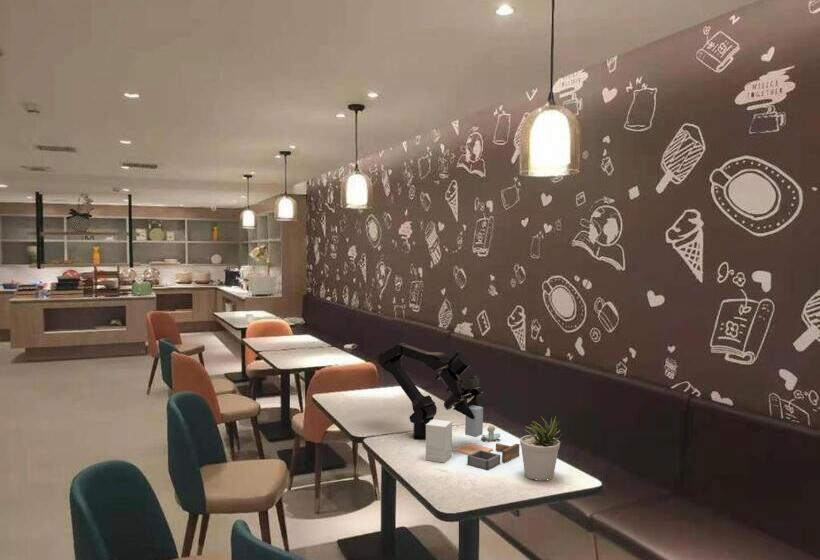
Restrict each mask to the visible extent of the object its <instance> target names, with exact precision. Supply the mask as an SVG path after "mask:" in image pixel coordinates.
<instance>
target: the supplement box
mask: <svg viewBox="0 0 820 560" xmlns="http://www.w3.org/2000/svg"><path fill="white" fill-rule="evenodd" d="M452 438H453V422H452V421H450V420H441V419H434V418H433V420H430V422H429V423H427V424H426V439H425V460H426V461H430V462H431V461H432V462H438V463H442V464H443V463H444V464H446V462H448V461H449V460H450V459H451V458H452V457H453V442H452V441H453V439H452Z"/></svg>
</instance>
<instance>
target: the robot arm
mask: <svg viewBox="0 0 820 560" xmlns="http://www.w3.org/2000/svg"><path fill="white" fill-rule="evenodd" d="M404 356H405V357H407V358H409V359H413V360H415V361H418V362H422V364H424V365H425V366H426V367H427V368H429V369H430V370H431V371H432V370H433V371H436V373H435V377H434V378H435V380H436V381H438V380H441V381H442V382H443V383H444V385H445V386H446V388H447V389H446V392H447V393H451V395H450V396H449V397H448V398H447V399H446V400H445V401H444V402H443V407H444V408H445V410H446V411H448V410H451V409H452V410H453V411H456V412H459V413H461V414H462V415H464V416H465V417H466V416H467V417H469V418H471V419H472V420H473V419H474V418H475V417H474V415H473V413H472V411H471V410H470V408H469V406H471V405H475V406H480V404H479V398H480V396H482V395H483V393H484V390H483V388H482V387H481V386H480V383H481V379H480V378H479V377H478V376H477V375H472V376H470V379H467V380H465V379H464V378H460V377H459V376H461V375H462V374H463V373H465V372H466V370H467V369H468V368H469V367H470V366H472V360H471V359H470V357H468V355H466V354H464V353H462V351H456V353H455V354H454V355H453V356H452V357H449V356H448V355H447V353H444V352H437V351H435V352H434V351H433V352H432V351H427V350H424V349H421V348H419V347H418V348H417V347H414V346H413V345H410V344H407V343H404V342H402V343H397V344H396V345H394V346H393V347H392V348H390V349H388V350H387V351H385V352H382V353H380V354H378V360H377V363H378V365H379V366H380V367H381V368H382V369H383V370H384V371H385V372H387V373H389V374H391V375H392V376H393V378H394V379H395V381H396V383H398V385H399V387H400V388H401V389H402V390H403V392H404V393H405V395H406V396H407V397H408V399H409V400H410V401H411V405H412V406H411V407H412V411H413V413H412V414H410V415H409V417H408V419H409V421H410V423H411V424H413V425H412V426H413V432H412V437H413V440H426V424H427V423H429V422H430V421H432V420H433V419H434V417H435V416H436V414H437V405H436V404H437V403H436V402H435V401H434V400H433V399H432V397H431V395H424V394H422V393H421V391H420V390H419V388H418V387H417V386H416V385H415V383H414V382H413V380H412V379H411V378H410V376H409V374H407V372H406V371H405V369H404V368H403V365H402V360H401V359H402V358H403V357H404ZM441 369H442V370H441ZM438 370H440V371H438ZM453 405H454V407H453Z"/></svg>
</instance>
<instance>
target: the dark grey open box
mask: <svg viewBox="0 0 820 560" xmlns="http://www.w3.org/2000/svg"><path fill="white" fill-rule="evenodd" d="M498 464H499V465H500V464H501V454H499V453H494V452H492V451H490V452H487V451H483V450H479V451H477V452H475V453H472V454H470V455H467V465H469V466H471V467H475V468H477V469H478V468H479V469H483V470H484V471H485V470H486V471H490V470H491V469H493V468H495V467H496V465H497V466H498Z"/></svg>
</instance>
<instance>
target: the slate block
mask: <svg viewBox="0 0 820 560" xmlns="http://www.w3.org/2000/svg"><path fill="white" fill-rule="evenodd" d="M469 408H470V410H471V411H472V413H473V415H474V417H475V418H474V419H473V420H472V419H471V418H469V417H467V416H466V415H465V428H464V431H465V432H464V433H465V435H466V436H468V437H473V438H477V437H481V436H482V435H483V428H484V423H483V422H484V406H483V407H482V406H480V405H479V406H475V405H471V406H469Z"/></svg>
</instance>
